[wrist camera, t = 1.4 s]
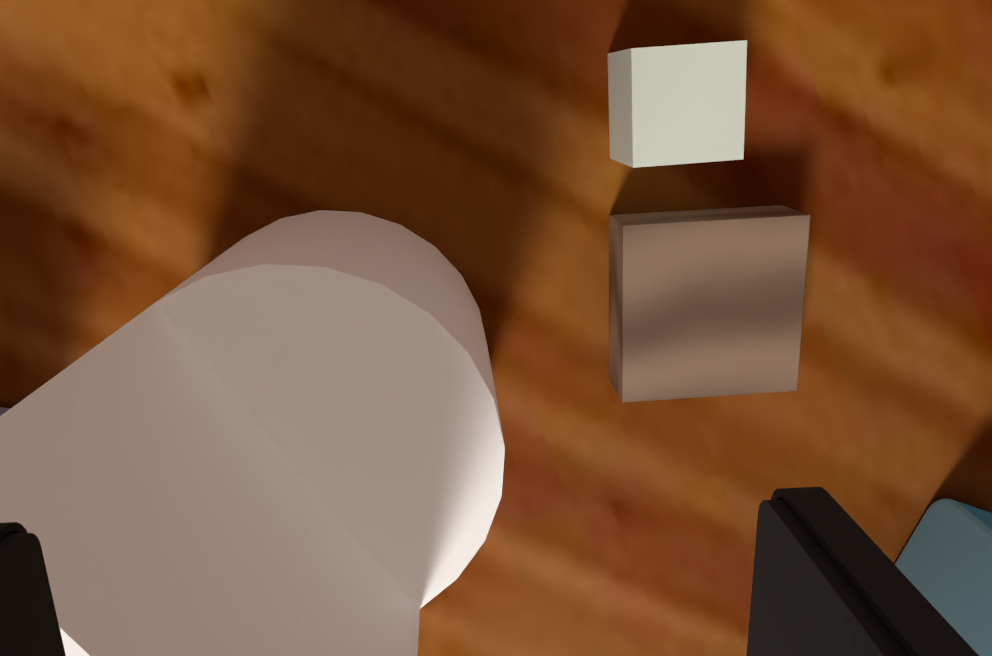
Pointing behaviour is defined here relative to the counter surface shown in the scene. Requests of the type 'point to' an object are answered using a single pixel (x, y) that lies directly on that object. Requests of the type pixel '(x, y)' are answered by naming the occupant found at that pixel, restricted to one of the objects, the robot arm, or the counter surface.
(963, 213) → the counter surface
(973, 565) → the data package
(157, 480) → the white bottle-shaped block
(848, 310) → the counter surface
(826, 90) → the counter surface
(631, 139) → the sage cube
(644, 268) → the pinkish brown square block
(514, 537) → the counter surface
